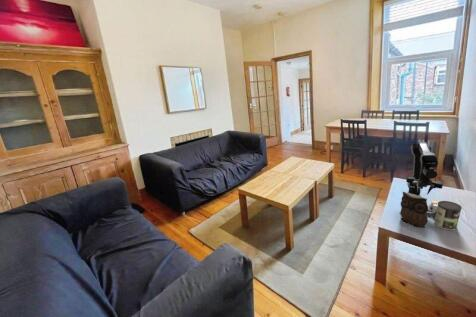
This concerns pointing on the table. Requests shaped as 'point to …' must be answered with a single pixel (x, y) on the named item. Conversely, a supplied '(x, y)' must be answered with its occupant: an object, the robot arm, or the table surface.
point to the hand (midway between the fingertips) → (422, 193)
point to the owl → (414, 210)
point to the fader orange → (433, 203)
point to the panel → (431, 212)
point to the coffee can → (447, 215)
